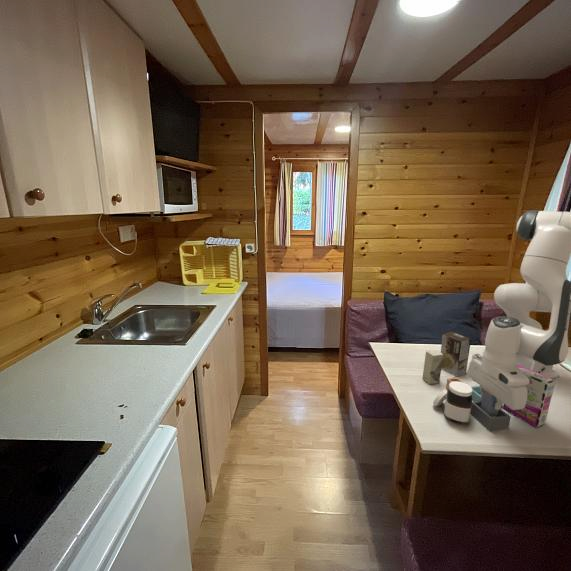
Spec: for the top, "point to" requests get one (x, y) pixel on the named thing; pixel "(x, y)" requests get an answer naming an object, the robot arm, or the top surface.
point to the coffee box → (455, 353)
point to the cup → (452, 381)
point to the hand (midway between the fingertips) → (490, 403)
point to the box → (432, 366)
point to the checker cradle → (490, 417)
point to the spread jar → (456, 401)
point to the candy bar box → (535, 398)
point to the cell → (488, 403)
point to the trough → (476, 393)
